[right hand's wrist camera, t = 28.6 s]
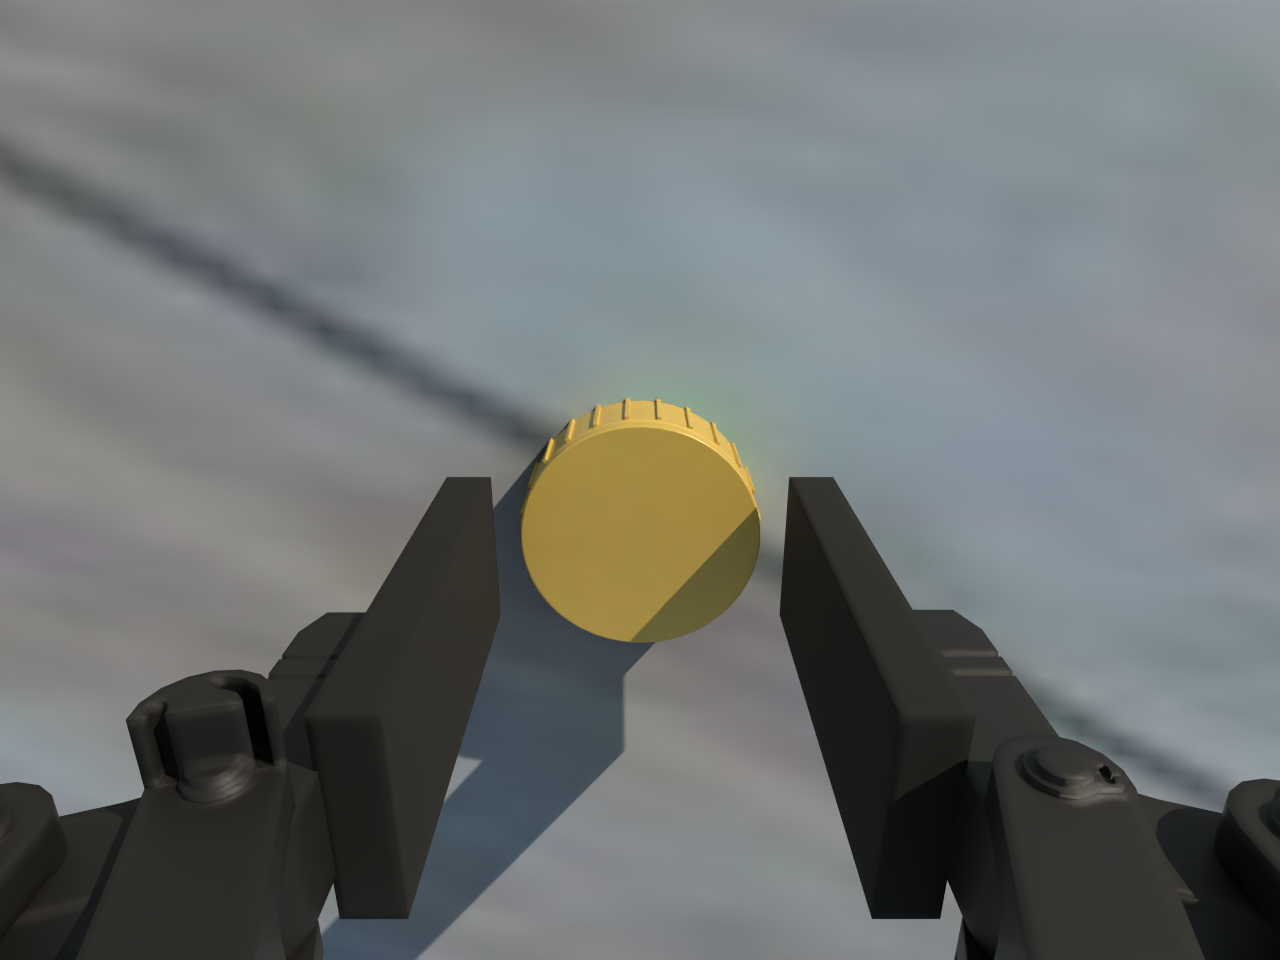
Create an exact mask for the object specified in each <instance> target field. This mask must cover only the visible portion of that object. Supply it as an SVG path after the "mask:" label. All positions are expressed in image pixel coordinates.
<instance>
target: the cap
mask: <svg viewBox="0 0 1280 960" xmlns="http://www.w3.org/2000/svg"><path fill="white" fill-rule="evenodd" d="M527 488H530V489H528V492H527V495H526V498H525V501H524V504H523V507H522V510H521V513H520V516H522V520H521V534H520V538H521V548H522V554H523V558H524V562H525V565H526V568H527V570H528V573H529V575H530V578H531V579H532V581H533V583H534V585H535V586H536V588H537V590H538V591H539V593H540V594H541V595H542V596H543V598H544V599H545V600H546V602H547V603H548V604H549V605H550V606H551V607H552V608H553V609H554V610H555V611H556V612H557V613H559V614H560V615H561V616H563V617H564V618H565V619H566V620H568V621H569V622H571V623H573V624H574V625H576V626H578V627H579V628H581V629H583V630H585V631H588V632H590V633H592V634H594V635H598V636H601V637H604V638H607V639H612V640H617V641H622V642H634V643H646V642H658V641H664V640H669V639H673V638H677V637H681V636H683V635H686V634H688V633H691V632H693V631H696V630H698V629H699V628H701V627H703V626H705V625H707V624H708V623H710V622H711V621H713V620H714V619H716V618H717V617H718V616H720V615H721V614H722V613H723V612H724V611H725V610H726V609H727V608H729V607H730V606H731V604H732V603H733V602H734V601H735V600H736V599H737V597H738V596H739V595H740V594H741V592H742V591H743V589H744V587H745V586H746V584H747V583H748V581H749V579H750V576H751V574H752V572H753V570H754V567H755V564H756V560H757V557H758V552H759V545H760V523H759V521H761V517H760V514H759V511H758V508H757V505H756V502H755V499H754V496H753V493H755V490H754V487H753V484H752V481H751V478H750V475H749V472H748V469H747V467H745V468H743V466H742V463H741V461H740V459H739V456H738V453H737V450H736V447H735V444H734V443H733V442H732V443H731V444H730V443H729V442H728V441H727V440H726V438H725V437H724V436H723V435H722V434H721V433H720V432H719V431H718V430H717V428H716V425H715V423H713V422H711V423H710V424H709V423H708V422H706V421H705V420H704V419H702V418H701V417H699V416H697V415H695V414H693V413H691V411H690V408H688V407H686V408H685V410H684V409H682V408H679V407H676V406H673V405H669V404H664V403H661V399H656V402H650V401H630V398H627V399H626V400H625V402H622V403H616V404H612V405H608V406H605V407H602V408H601V406H600V405H598V406H596V408H595V410H594V411H592V412H590V413H587V414H585V415H584V416H582V417H580V418H579V419H577V420H576V421H575V420H574V419H571V420H570V421H569V425H568V427H566V428H565V429H564V430H563V431H562V432H561V433H560V434H559V435H558V436H557V437H556V438H555V439H554V440H553V439H552V438H551V439H550V440H549V442H548V445H547V448H546V451H545V453H544V455H543V457H542V458H541V460H540V462H539V463H537V462H536V463H535V466H534V469H533V472H532V475H531V477H530V480H529V483H528V486H527Z"/></svg>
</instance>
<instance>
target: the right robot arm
mask: <svg viewBox="0 0 1280 960" xmlns="http://www.w3.org/2000/svg"><path fill="white" fill-rule="evenodd" d="M780 617H781V621H782V624H783V627H784V631H785V634H786V637H787V640H788V644H789V647H790V650H791V654H792V657H793V660H794V664H795V667H796V670H797V673H798V677H799V680H800V683H801V687H802V690H803V693H804V696H805V700H806V703H807V706H808V710H809V713H810V716H811V719H812V723H813V726H814V729H815V733H816V736H817V739H818V742H819V746H820V749H821V752H822V756H823V759H824V762H825V766H826V769H827V772H828V775H829V779H830V782H831V785H832V789H833V792H834V795H835V798H836V802H837V805H838V808H839V812H840V815H841V818H842V821H843V825H844V828H845V831H846V835H847V838H848V841H849V845H850V848H851V851H852V854H853V858H854V861H855V864H856V868H857V871H858V874H859V877H860V881H861V884H862V887H863V891H864V894H865V897H866V900H867V904H868V907H869V910H870V914H871V917H872V919H940V917H941V911H942V905H943V900H944V894H945V889H946V883H947V880H948V883H949V885H950V887H951V890H952V892H953V894H954V897H955V899H956V901H957V904H958V906H959V909H960V911H961V913H962V916H963V917H962V922H961V928H960V933H959V938H958V943H957V948H956V954H955V959H954V960H1280V781H1279V780H1271V779H1258V780H1251V781H1243V782H1241V783H1240V784H1238V785H1237V786H1236V787H1235V788H1233V789H1232V790H1231V791H1230V792H1229V794H1228V797H1227V800H1226V804H1225V807H1224V810H1223V813H1218V812H1213V811H1209V810H1204V809H1200V808H1195V807H1190V806H1186V805H1181V804H1177V803H1172V802H1167V801H1163V800H1158V799H1155V798H1151V797H1148V796H1144V795H1141V794H1138V793H1137V790H1136V788H1135V786H1134V785H1133V784H1132V782H1131V781H1130V779H1129V778H1128V776H1127V775H1126V773H1125V772H1124V771H1123V770H1122V769H1121V768H1120V767H1119V766H1117V765H1116V764H1115V763H1114V762H1112V761H1111V760H1110V759H1108V758H1107V757H1106V756H1105V755H1103V754H1102V753H1100V752H1098V751H1096V750H1093V749H1091V748H1089V747H1087V746H1085V745H1083V744H1081V743H1079V742H1077V741H1073V740H1069V739H1065V738H1061V737H1059V736H1058V735H1057V733H1056V732H1055V730H1054V729H1053V728H1052V726H1051V725H1050V723H1049V722H1048V721H1047V719H1046V718H1045V716H1044V715H1043V714H1042V712H1041V711H1040V710H1039V708H1038V707H1037V705H1036V704H1035V703H1034V701H1033V700H1032V698H1031V697H1030V696H1029V694H1028V693H1027V691H1026V690H1025V689H1024V687H1023V686H1022V685H1021V683H1020V682H1019V680H1018V679H1017V678H1016V676H1012V671H1011V669H1010V668H1009V667H1008V665H1007V664H1006V662H1005V661H1004V660H1003V658H1002V657H999V656H998V651H997V650H996V648H995V647H994V646H993V644H992V643H991V642H990V640H989V639H988V637H987V636H986V635H985V633H984V632H983V630H982V629H980V628H979V627H977V626H976V625H974V624H973V623H972V622H970V621H969V620H967V619H966V618H964V617H963V616H961V615H960V614H958V613H957V612H955V611H954V610H912V608H911V606H910V605H909V603H908V601H907V600H906V598H905V596H904V595H903V593H902V591H901V590H900V588H899V586H898V585H897V583H896V581H895V580H894V578H893V576H892V575H891V573H890V571H889V570H888V568H887V566H886V565H885V563H884V561H883V560H882V558H881V556H880V555H879V553H878V551H877V550H876V548H875V546H874V545H873V543H872V541H871V540H870V538H869V536H868V535H867V533H866V531H865V530H864V528H863V526H862V525H861V523H860V521H859V520H858V518H857V516H856V515H855V513H854V511H853V510H852V508H851V506H850V505H849V503H848V501H847V500H846V498H845V496H844V495H843V493H842V491H841V490H840V488H839V486H838V485H837V483H836V481H835V480H834V478H833V477H789V489H788V503H787V517H786V531H785V546H784V560H783V574H782V588H781V602H780ZM499 618H500V602H499V588H498V574H497V559H496V545H495V531H494V517H493V503H492V489H491V477H447V478H446V480H445V481H444V483H443V485H442V486H441V488H440V490H439V491H438V493H437V495H436V496H435V498H434V500H433V501H432V503H431V505H430V506H429V508H428V510H427V511H426V513H425V515H424V516H423V518H422V520H421V521H420V523H419V525H418V526H417V528H416V530H415V531H414V533H413V535H412V536H411V538H410V540H409V541H408V543H407V545H406V546H405V548H404V550H403V551H402V553H401V555H400V556H399V558H398V560H397V561H396V563H395V565H394V566H393V568H392V570H391V571H390V573H389V575H388V576H387V578H386V580H385V581H384V583H383V585H382V586H381V588H380V590H379V591H378V593H377V595H376V596H375V598H374V600H373V601H372V603H371V605H370V606H369V608H368V610H367V611H366V613H326V614H324V615H323V616H322V617H320V618H319V619H317V620H316V621H314V622H313V623H311V624H310V625H308V626H307V627H305V628H304V629H303V630H301V631H300V632H298V634H297V635H296V637H295V638H294V639H293V641H292V642H291V644H290V645H289V646H288V648H287V649H286V651H285V652H284V653H283V655H282V660H278V662H277V663H276V665H275V666H274V667H273V669H272V670H271V671H270V673H269V678H268V679H266V678H265V677H263V676H262V675H261V674H257V673H253V672H248V671H244V670H220V671H212V672H207V673H203V674H199V675H194V676H190V677H187V678H184V679H182V680H180V681H177V682H175V683H172V684H170V685H168V686H165V687H163V688H161V689H159V690H158V691H156V692H155V693H153V694H152V695H151V696H149V697H148V698H146V699H145V700H143V701H142V702H140V703H139V704H138V705H137V707H136V708H135V709H134V710H133V712H132V713H131V714H130V715H129V716H128V718H127V719H126V723H127V726H128V730H129V734H130V737H131V741H132V745H133V748H134V752H135V756H136V759H137V763H138V766H139V770H140V774H141V777H142V781H143V785H144V788H145V789H144V792H143V794H142V797H141V798H138V799H134V800H131V801H127V802H124V803H120V804H115V805H110V806H106V807H101V808H97V809H92V810H87V811H83V812H78V813H74V814H69V815H65V816H60V817H59V816H58V813H57V810H56V806H55V803H54V800H53V797H52V795H51V794H50V793H48V792H47V791H46V790H45V789H43V788H42V787H41V786H40V785H34V784H27V783H20V782H14V783H6V784H0V960H323V945H322V939H321V933H320V928H319V922H318V918H319V915H320V913H321V910H322V908H323V906H324V903H325V901H326V899H327V896H328V894H329V891H330V889H331V887H332V884H333V883H334V889H335V894H336V900H337V905H338V911H339V917H340V919H408V917H409V914H410V910H411V907H412V904H413V901H414V897H415V894H416V891H417V887H418V884H419V881H420V877H421V874H422V871H423V868H424V864H425V861H426V858H427V854H428V851H429V848H430V845H431V841H432V838H433V835H434V831H435V828H436V825H437V822H438V818H439V815H440V812H441V808H442V805H443V802H444V799H445V795H446V792H447V789H448V785H449V782H450V779H451V775H452V772H453V769H454V766H455V762H456V759H457V756H458V752H459V749H460V746H461V743H462V739H463V736H464V733H465V729H466V726H467V723H468V720H469V716H470V713H471V710H472V706H473V703H474V700H475V697H476V693H477V690H478V687H479V683H480V680H481V677H482V673H483V670H484V667H485V664H486V660H487V657H488V654H489V650H490V647H491V644H492V641H493V637H494V634H495V631H496V627H497V624H498V621H499Z"/></svg>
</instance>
